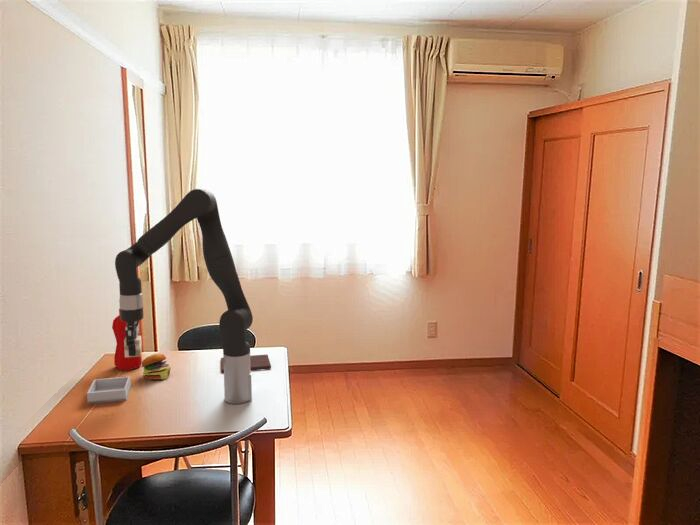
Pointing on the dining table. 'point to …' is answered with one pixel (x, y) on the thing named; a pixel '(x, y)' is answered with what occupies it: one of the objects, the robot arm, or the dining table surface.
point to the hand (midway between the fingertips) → (133, 352)
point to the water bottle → (120, 335)
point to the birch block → (138, 347)
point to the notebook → (254, 362)
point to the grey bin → (109, 390)
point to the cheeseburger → (156, 367)
